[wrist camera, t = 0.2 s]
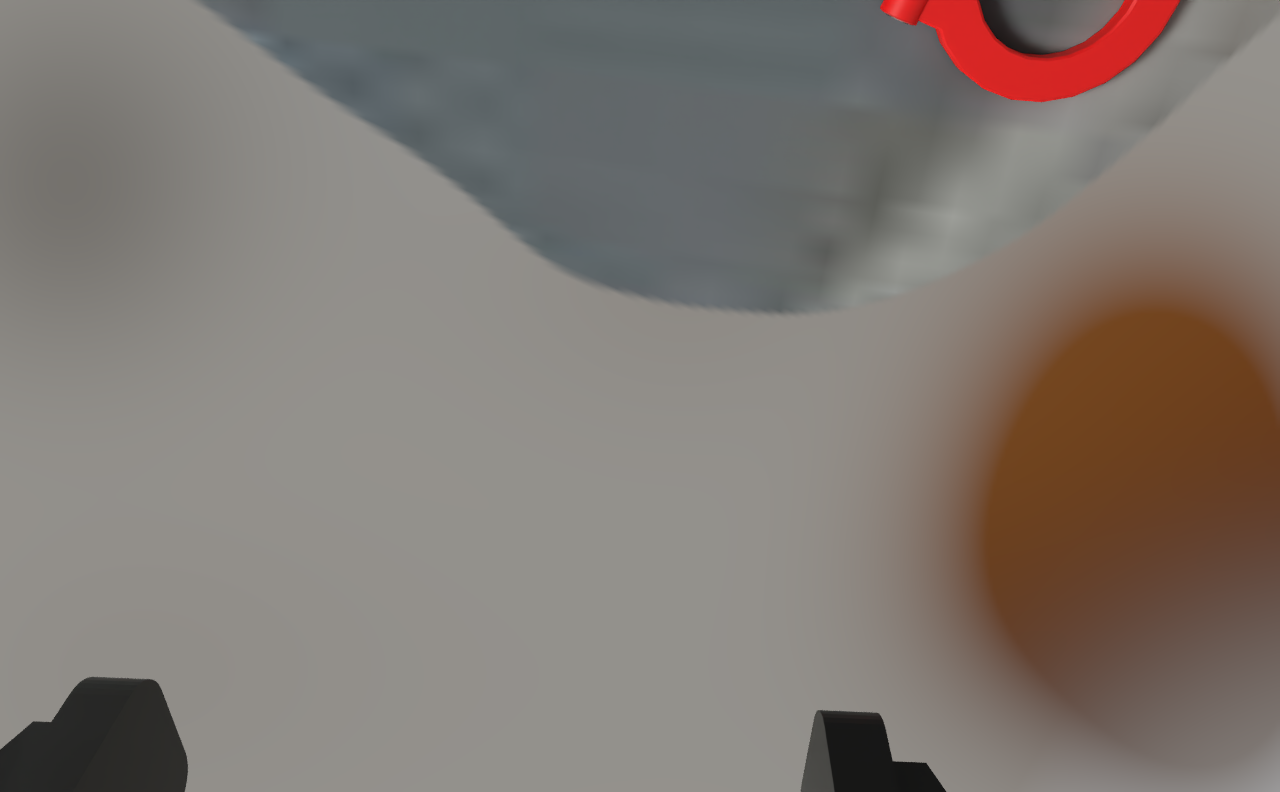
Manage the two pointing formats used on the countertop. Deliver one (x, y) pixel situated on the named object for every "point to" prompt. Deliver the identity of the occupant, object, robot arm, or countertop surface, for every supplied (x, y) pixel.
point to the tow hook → (1034, 77)
